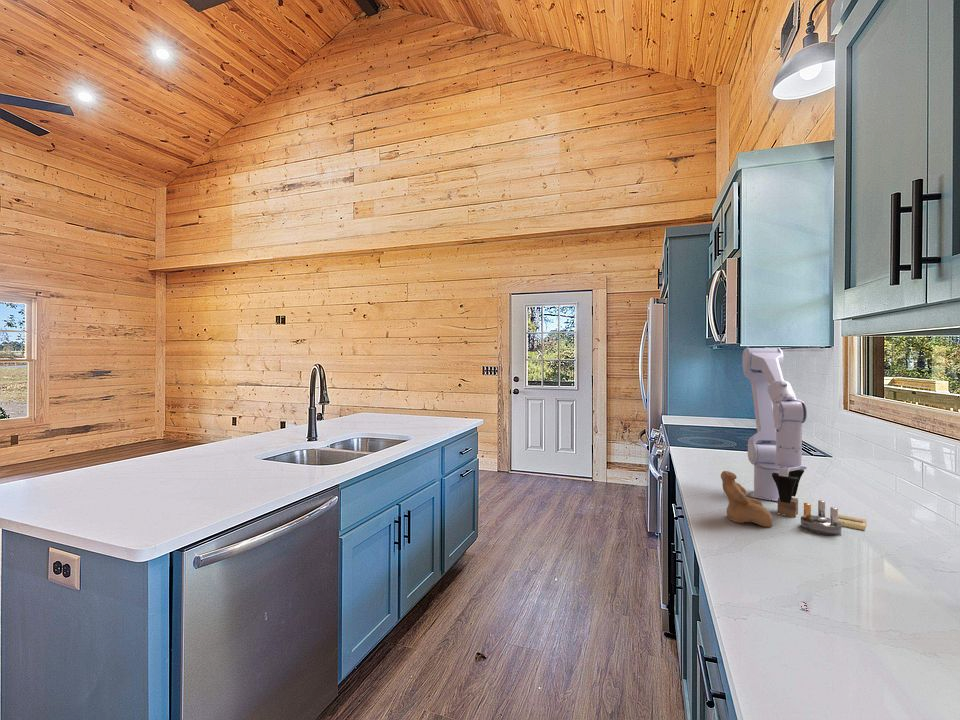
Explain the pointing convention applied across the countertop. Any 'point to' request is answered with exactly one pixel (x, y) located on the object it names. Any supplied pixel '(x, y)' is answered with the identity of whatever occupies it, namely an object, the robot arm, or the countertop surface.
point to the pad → (852, 522)
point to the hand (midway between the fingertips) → (788, 498)
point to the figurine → (743, 503)
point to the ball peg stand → (821, 520)
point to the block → (788, 507)
